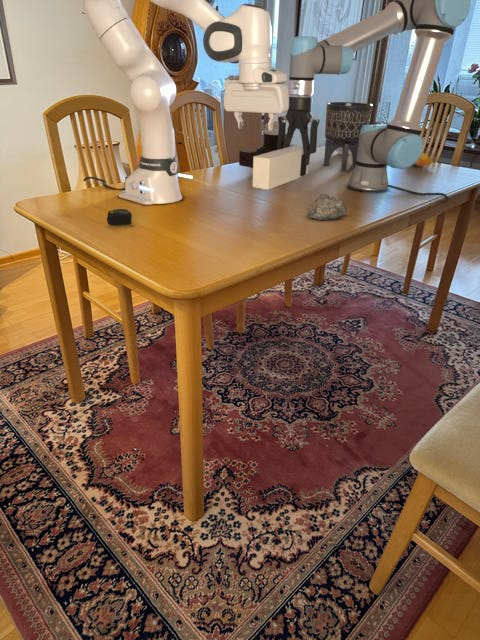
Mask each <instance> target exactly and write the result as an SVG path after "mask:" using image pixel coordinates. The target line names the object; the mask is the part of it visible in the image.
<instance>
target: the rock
mask: <svg viewBox="0 0 480 640" xmlns="http://www.w3.org/2000/svg"><path fill="white" fill-rule="evenodd" d="M347 213H348V207H347V205H346V204H345V202H344V201H343V200H342V199H339V198H338V197H335V196H333V195H330V194H327V193H324V192H321V194H320V195H319V197H318V198H316V199H315V200H314V201H313V202H312V203H311V204H310V207H309V209H308V211H307V216H308V217H309V218H310V219H316V220H318V221H327V220H335V219H339V218H340V217H343V216H345V215H346V214H347Z"/></svg>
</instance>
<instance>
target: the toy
mask: <svg viewBox="0 0 480 640" xmlns="http://www.w3.org/2000/svg"><path fill="white" fill-rule="evenodd" d="M433 163H434V159H433V158H432V157H429V156H428V154H427V153H424V152H422V154H421V156H420V158H419V159H418V160H417V162H416V163H415V164H414V165H415V166H417V167H422V168H423V167H426V166H430V165H432V164H433Z"/></svg>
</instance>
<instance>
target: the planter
mask: <svg viewBox="0 0 480 640" xmlns="http://www.w3.org/2000/svg"><path fill="white" fill-rule="evenodd" d="M373 107H374V106H373V104H372V103H367V102H353V101H333V102H327V103H326V109H325V124H324V125H325V126H324V139H325V144H324V156H323V157H324V158H323V165H325V166H328V165H330V163H331V158H332V156H333V154H334V153H335V152H336V149H338V148H340V147H342V153H341V166H340V170H341V172H345V171H347V167H348V166H347V165H348V159H349V154H348V152H349V150H350V151H351V152H350V154H351V157H352V158H351V159H352V160H351V161H352V166H353V167H355V165H356V158H357V151H358V144H359V135H360V131H361V128H362V126H364V125H370V121H371V116H372V112H373Z"/></svg>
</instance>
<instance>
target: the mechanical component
mask: <svg viewBox="0 0 480 640" xmlns="http://www.w3.org/2000/svg"><path fill="white" fill-rule="evenodd" d="M287 129H288V128H286V130H285V138H286V134H287V131H288V130H287ZM278 131H279V122H278V120H275V121H274V123H273V130H271V131H268V130H265V128H264V129H263V145H262V146H258V147H257V148H256V151H250V150H245V149H241V150H239V153H238V154H239V155H238V157H239V159H238V166H240V167H245V168H250V169H253V157H254V156H258V155H261V154H265V153H268V152H272V151H276V150H278V149H277V142H278ZM284 141H285V140H284ZM294 145H295V144H291V143H290V146H294ZM290 146H289V147H290Z"/></svg>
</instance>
